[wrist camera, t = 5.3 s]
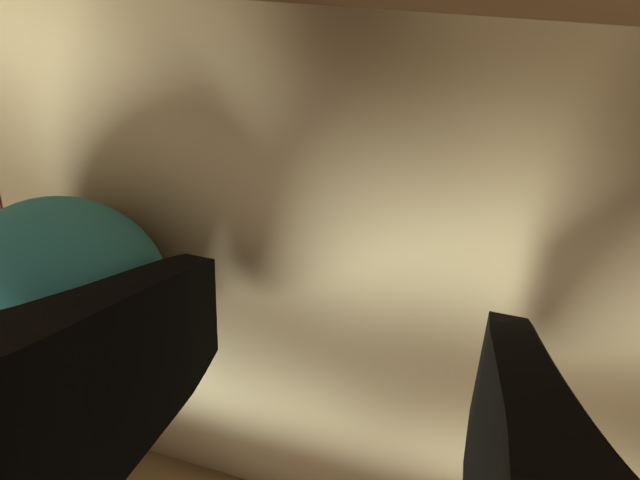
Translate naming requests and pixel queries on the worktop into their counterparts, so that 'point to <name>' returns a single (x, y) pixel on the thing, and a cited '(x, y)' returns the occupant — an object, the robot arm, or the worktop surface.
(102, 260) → the ball
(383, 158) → the lane
